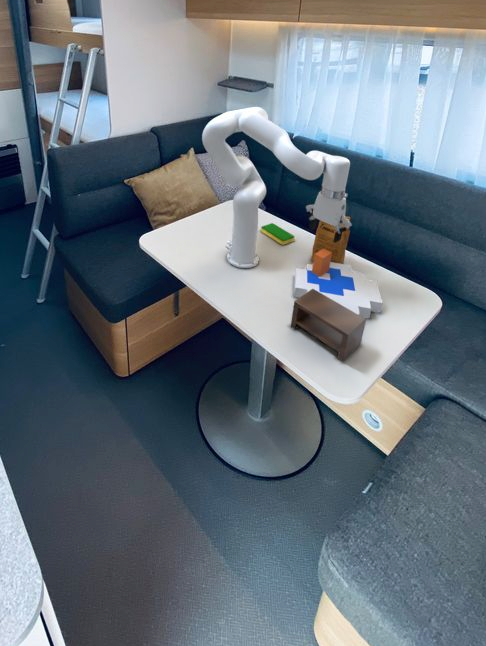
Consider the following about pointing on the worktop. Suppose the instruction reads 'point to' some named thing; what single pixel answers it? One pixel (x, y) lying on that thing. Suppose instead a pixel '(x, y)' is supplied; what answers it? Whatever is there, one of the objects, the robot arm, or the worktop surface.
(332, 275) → the stepped white slab
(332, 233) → the coffee package
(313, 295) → the shelf
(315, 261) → the block
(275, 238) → the dish sponge
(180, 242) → the worktop surface
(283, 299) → the worktop surface
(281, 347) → the worktop surface
